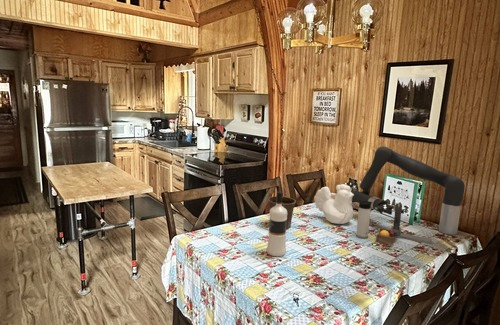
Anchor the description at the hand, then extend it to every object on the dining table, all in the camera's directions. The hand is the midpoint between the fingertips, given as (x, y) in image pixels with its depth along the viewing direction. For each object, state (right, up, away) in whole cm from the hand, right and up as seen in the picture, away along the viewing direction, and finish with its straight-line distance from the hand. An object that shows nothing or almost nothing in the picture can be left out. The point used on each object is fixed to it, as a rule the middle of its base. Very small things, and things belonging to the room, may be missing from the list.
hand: (397, 212), depth 177 cm
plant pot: (-64, -10, +11) cm, 66 cm away
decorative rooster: (-30, -9, +24) cm, 39 cm away
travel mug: (-20, -13, -1) cm, 24 cm away
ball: (-9, -11, -4) cm, 15 cm away
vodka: (-70, -15, -25) cm, 76 cm away
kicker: (-3, -14, -2) cm, 14 cm away
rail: (+5, -14, -1) cm, 15 cm away
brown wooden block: (-9, -14, -5) cm, 17 cm away
